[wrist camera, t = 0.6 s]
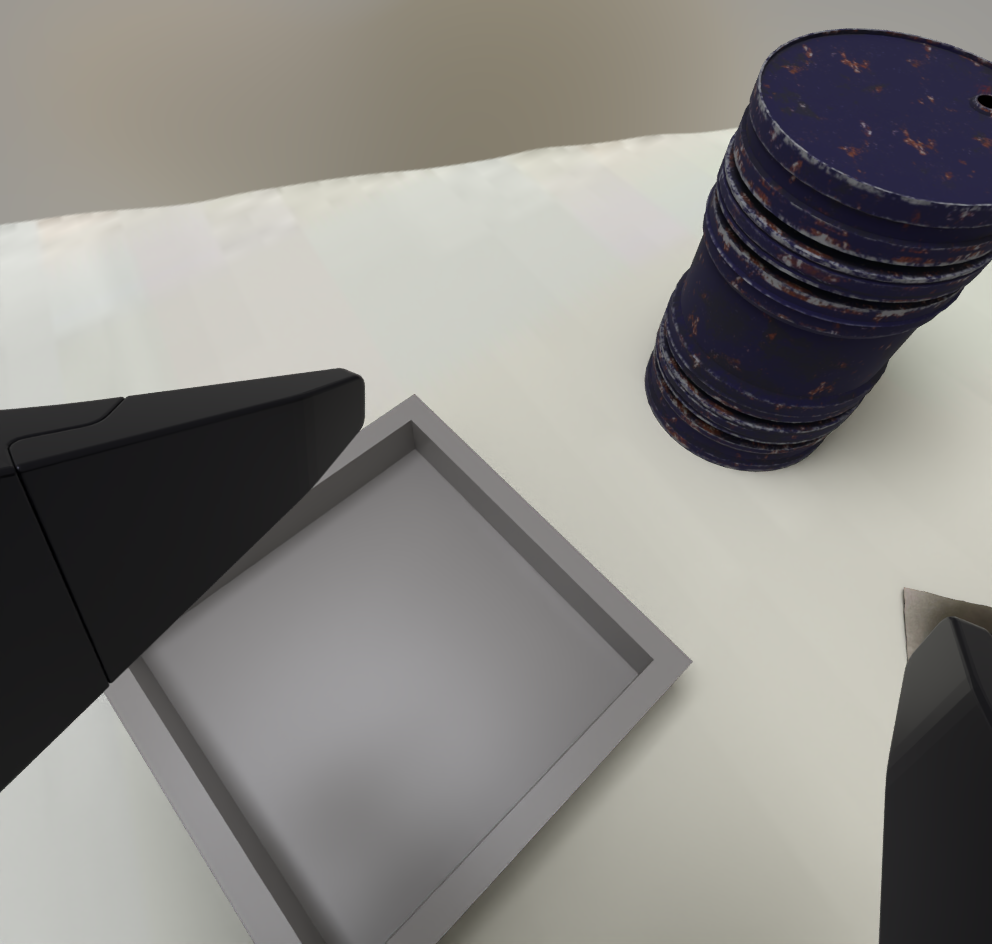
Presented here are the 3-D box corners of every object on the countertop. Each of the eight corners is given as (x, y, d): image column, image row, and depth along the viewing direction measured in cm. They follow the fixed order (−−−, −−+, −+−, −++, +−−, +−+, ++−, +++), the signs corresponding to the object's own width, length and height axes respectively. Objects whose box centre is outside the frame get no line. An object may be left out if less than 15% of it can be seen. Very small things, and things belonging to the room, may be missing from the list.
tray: (345, 1033, 20) (326, 1064, 17) (107, 650, 25) (66, 629, 23) (670, 679, 25) (692, 661, 23) (419, 430, 31) (414, 393, 28)
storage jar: (673, 485, 30) (830, 221, 17) (620, 330, 35) (711, 32, 22) (865, 460, 31) (1149, 195, 18) (788, 314, 36) (969, 21, 23)
